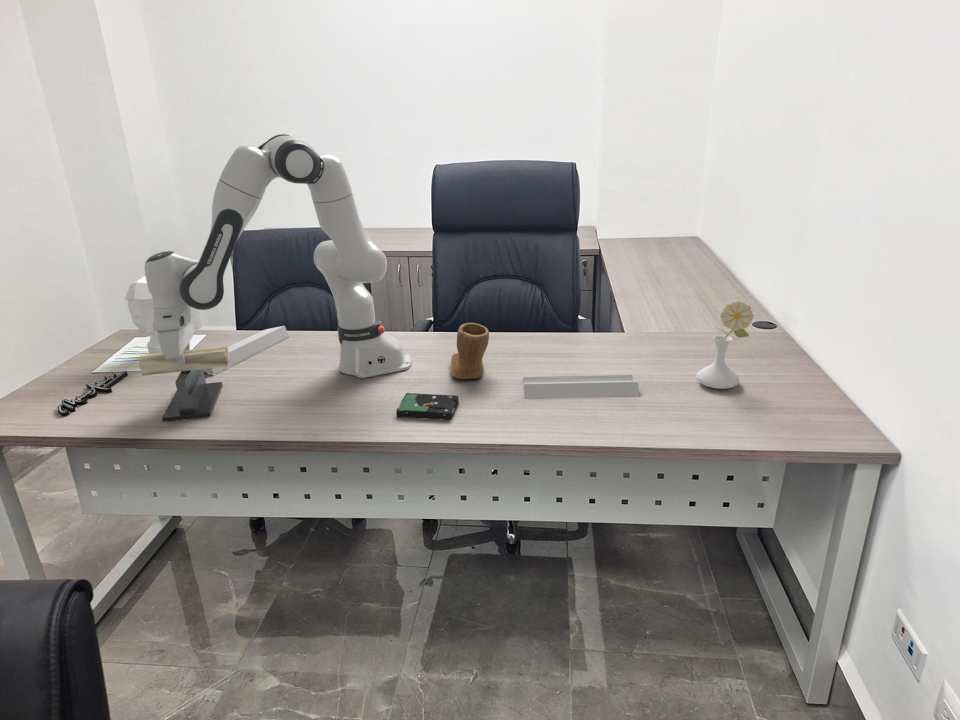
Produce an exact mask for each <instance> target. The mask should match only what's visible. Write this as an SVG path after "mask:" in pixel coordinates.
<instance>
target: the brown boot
mask: <svg viewBox="0 0 960 720" xmlns="http://www.w3.org/2000/svg"><path fill="white" fill-rule="evenodd" d="M489 341H490V331H489V328H488V327H486V326H484V325H482V324H480V323H475V322H467V323H463V324H461V325H460V326H459V328H458V329H457V334H456V349H457V353H454V354H452V355H451V359H450V373H451V375H452V377H453V378H455V379H459V380H474V379H478V378H481V377H482V376H483V373H484V371H485V369H484V363H483V357H484V355H485V352H486V350H487V348H488V345H489Z"/></svg>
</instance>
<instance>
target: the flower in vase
mask: <svg viewBox="0 0 960 720" xmlns="http://www.w3.org/2000/svg"><path fill="white" fill-rule="evenodd" d="M753 312H754V311H753V310H752V306H751V305H750V304H747V303H745V302H743V301H740V300H738V301H733V302H731V303H729V304H728V303H727V304H726V305H725V306H724V308H723V309H722V310H721V313H720V315H719V317H720V319H721V322H722V326H724V327H725V328H727V329H730V331H729V332H728V333H726V331H725V330H723V329H721V328H719V327H717V326H716V325H714V327H715V328H716V329H717V330H718V331H721V332H723V333H724V334H726V335H724V334H719V335H718V334H716V335H714V336H712V339H713V341H714V342H715V346H716V356H715V359H714V361H713V363H711V364H709V365H707V366H705V367H703V368H702V369H700V370H699V371H698V372H697V374H696V376H695V377H696V380H697V381H698V382H699V383H700V384H702V385H703V386H706V387H709V388H713V389H717V390H720V389H721V390H723V389H724V390H725V389H732V388H734V387H737V386H738V384H740V378H739V377H740V376H739V375H738V374H737V373H736V372H735V371H734V370H733V369H731V367H729V366H728V365H727V364H726V361H725V358H726V352H727V349H728V347H729V344H730V343H731V342H732V341H733V340H734V339H733V338H732V337H731V336H730V334H731V333H733V334H734V335H735V337H737V338H748V337H750V335H749V333H748V332H747V331H746V328H748V327H749V326H750V324H751V323H752V322H753V320H754V317H755V314H754V313H753Z"/></svg>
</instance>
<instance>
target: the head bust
mask: <svg viewBox="0 0 960 720" xmlns="http://www.w3.org/2000/svg"><path fill="white" fill-rule="evenodd" d="M124 299H125V300H126V301H127V308H128V311H129V314H130V316H131V320H132V324H133V325H134V326H136V328H138V330H139V332H140V333H142V334H145V333H149V334H150V337H149V340H148V342H147V343H146V346H147V350H148V354H154V353H162V350H161V347H160V343H159V340H158V335H157V333H158V331H154V329H153V321H154V310H153V306H152V301H153V300H152V296H151V294H150V292H149V290H148V286H147V281H146V276H145V275H143V276H142V277H140V278H139V279H136V280H135V281H133V282H132V283H130V284H129V286H128V290H127V291H126V294H125V297H124Z"/></svg>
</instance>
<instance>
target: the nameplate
mask: <svg viewBox="0 0 960 720" xmlns="http://www.w3.org/2000/svg"><path fill="white" fill-rule="evenodd" d="M127 376H129V374H128V371H127V370H125V371H122V372H120V373H119V374H118V375H117V374H116V372H112V373H111V374H110V375H104V376H103V379H102V380H100V381H95V382H94V384H91V383H86V384H85V386H86V389H87V391H85V392H82V393H81V395H78V396H75V398H72V399H70V400H69V399H67V398H65V399H62V400H61V403H60V404H58V406H57V411H58V414H59V416H60V417H63V418H64V417H65V418H66V417H68V415H69V416H70V414H71V413H75V412H76V407H77V408H78V407H79V406H84V405H87V404H88V400H89V399H90V400H91V399H94V398H96V397H97V396H98V393H102V394H103V393H104V394H111V393H113V390H112V388H113V387H115V386H116V385H117V384H118V383H120V382H121V381H123V380H124V379H125V378H126V377H127ZM97 392H98V393H97ZM77 405H78V406H77ZM63 408H64V409H63ZM69 411H70V412H69Z"/></svg>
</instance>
